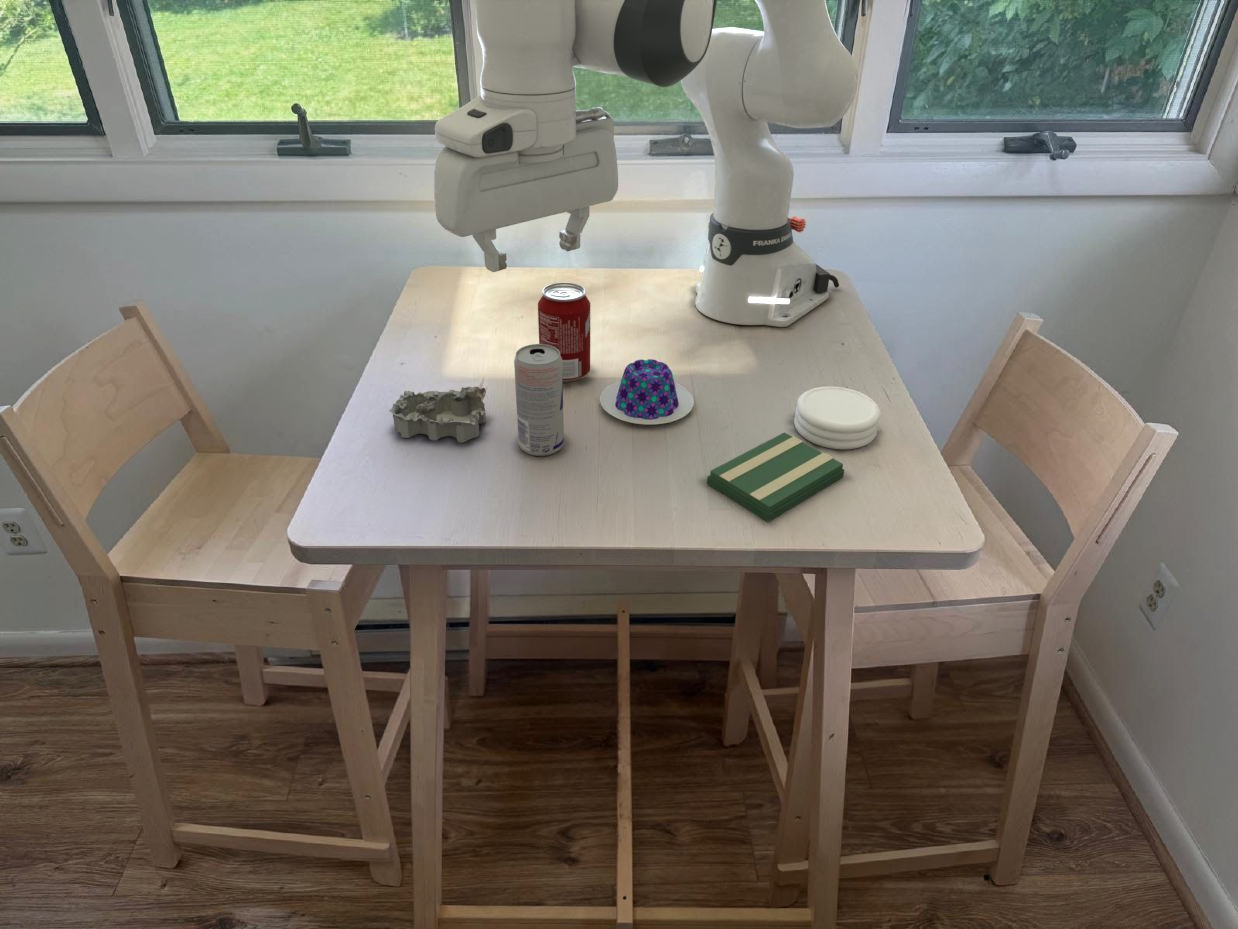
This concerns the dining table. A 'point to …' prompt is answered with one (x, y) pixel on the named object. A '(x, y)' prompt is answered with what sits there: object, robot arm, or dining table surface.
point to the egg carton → (440, 413)
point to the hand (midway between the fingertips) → (534, 258)
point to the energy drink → (539, 399)
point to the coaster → (837, 417)
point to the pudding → (647, 395)
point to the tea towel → (775, 476)
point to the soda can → (566, 327)
